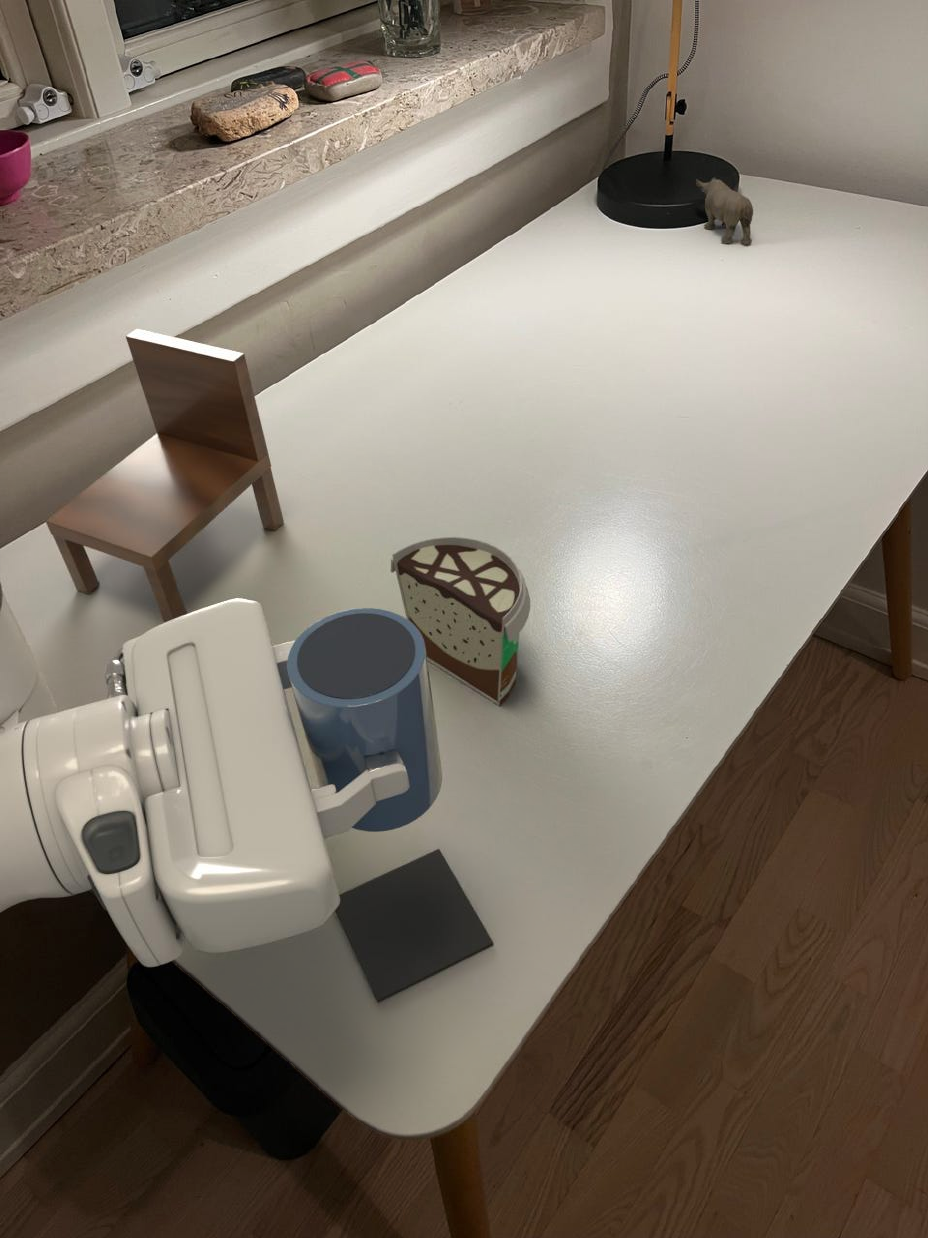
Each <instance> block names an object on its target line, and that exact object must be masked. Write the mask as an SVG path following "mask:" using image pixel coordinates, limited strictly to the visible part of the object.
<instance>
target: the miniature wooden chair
mask: <svg viewBox="0 0 928 1238" xmlns="http://www.w3.org/2000/svg"><path fill="white" fill-rule="evenodd" d="M125 340H126V342H127V346H128V348H129V352H130V355H131V358H132V361H133V364H134V367H135V370H136V373H137V376H138V379H139V382H140V385H141V388H142V391H143V394H144V398H145V400H146V401H145V402H146V404H147V408H148V410H149V414H150V416H151V419H152V422H153V426H154V429H155V431H156V433H155V434H154V435H153V436H151V437H150V438H149V439H148V440H146V441H145V442H144V443H143V444H141V445H140V446H139V447H137V448H136V449H135V450H133V451H132V452H131V453H129V454H128V455H127V456H126V457H124V458H123V459H121V461H119V463H117V464H116V465H115V466H113V467H112V468H111V469H110V470H108V471H107V472H105V473H104V474H103V475H102V476H100V477H99V478H98V479H97V480H95V481H94V482H93V483H92V484H90V485H89V486H88V487H87V488H85V489H84V490H83V491H81V492H80V493H79V494H78V495H76V496H75V497H74V498H73V499H71V500H70V501H69V502H67V503H66V504H65V505H64V506H63V507H62V508H60V509H59V510H57V511H56V512H55V513H53V514H52V515H51V516H50V517H49V518H47V519H46V520H45V524H46V526H47V528H48V530H49V533H50V535H52V537H53V539H54V541H55V544H56V546H57V548H58V551H59V553H60V556H61V558H62V560H63V562H64V564H65V566H66V569H67V571H68V573H69V575H70V578H71V580H72V582H73V585H74V586H75V589H76V590H77V591H78V592H81V593H83V594H86V595H90V594H91V593H92V592H93V591H94V590H95V589H97V588H98V587H99V586H100V582H99V579H98V577H97V575H96V572H95V570H94V567H93V565H92V563H91V560H90V558H89V555H88V553H87V551H86V548H89V549H92V550H95V551H98V552H100V553H103V554H105V555H106V554H107V555H109V556H112V557H115V558H118V559H120V560H123V561H127V562H130V563H132V564H135V565H138V566H141V567H143V571H144V573H145V575H146V578H147V580H148V583H149V585H150V589H151V591H152V594H153V596H154V599H155V602H156V604H157V608H158V610H159V612H160V615H161V618H162V621H163V623H165V622H167V621H170V620H173V619H175V618H178V617H180V616H183V615H186V614H188V612H187V610H186V606H185V603H184V601H183V598H182V595H181V593H180V590H179V587H178V584H177V581H176V578H175V576H174V573H173V570H172V568H171V564H170V562H169V561H170V560H171V559H172V558H173V557H174V556H175V555H176V554H177V553H178V552H179V551H180V550H181V549H182V548H184V547H185V546H186V545H187V544H188V543H189V542H190V541H192V539H194V538H195V537H196V536H197V535H198V534H199V533H201V532H202V530H203V529H205V528H206V527H207V526H208V525H209V524H210V523H211V522H213V520H214V519H216V518H217V517H218V516H219V515H220V514H221V513H223V511H224V510H225V509H226V508H227V507H228V506H229V505H231V504H232V503H233V502H234V501H235V500H236V499H237V498H238V497H239V496H241V495H242V494H243V493H244V492H245V491H246V490H247V489H248V488H249V487H252V491H253V494H254V495H253V496H254V499H255V502H256V506H257V510H258V515H259V517H260V522H261V525H262V527H263V528H264V529H268V530H271V531H274V532H277V530H278V529H279V528H281V526H282V525H283V524H284V523H285V521H284V517H283V513H282V507H281V504H280V500H279V495H278V491H277V486H276V482H275V479H274V475H273V471H272V463H271V458H270V455H269V454H270V453H269V451H268V446H267V442H266V438H265V433H264V429H263V425H262V421H261V417H260V412H259V409H258V404H257V401H256V400H257V399H256V397H255V393H254V388H253V384H252V379H251V375H250V372H249V368H248V363H247V360H246V355H245V353H244V352H240V351H236V350H231V349H227V348H222V347H218V346H213V345H209V344H205V343H200V342H197V341H191V340H187V339H183V338H178V337H175V336H170V335H166V334H162V333H158V332H153V331H150V330H149V331H148V330H144V329H140V328H135V329H134V330H133V331H131V332H129V333H128V334H127V335H125ZM85 547H86V548H85Z"/></svg>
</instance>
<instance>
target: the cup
mask: <svg viewBox="0 0 928 1238" xmlns="http://www.w3.org/2000/svg"><path fill="white" fill-rule="evenodd" d="M294 641H295V642H294V644H293V646H292V648H291V650H290V653H289V656H288V661H287V670H288V674H289V678H290V682H291V686H292V687H291V689H292V693H293V697H294V700H295V704H296V709H297V711H298V715H299V720H300V724H301V726H302V729H303V734H304V738H305V742H306V746H307V749H308V753H309V756H310V760H311V764H312V767H313V771H314V775H315V780H316V782H317V786H318V788H320V787H324V786H327V785H331V784H333V785H335V788H336V791H337V793H338V792H339V791H341V790H342V789H343V788H344V787H346V786H347V785H348V784H349V783H351V782H352V781H353V780H354V779H356V778H357V777H358V776H359V775H361V774H362V773H363V772H365V771H366V770H367V768H366V763H365V759H364V757H367V756H371V755H375V754H383V753H384V752H386V751H389V750H392V749H393V750H398V751H399V752H400V755H401V758H402V760H403V763H404V765H405V768H406V771H407V774H408V780H409V786H410V787H409V789H408V790H407V791H406V792H404V793H402V794H399V795H396V796H392V797H389V798H386V799H383V800H379V801H376V804H375V805H374V806H373V807H372V808H371V809H370V810H369V811H368V812H367V813H366V814H365V815H364V816H363V817H362V818H361V819H360V820H359V821H358V822H357V823H356V824H355V825H354V826H353V827H352V828H351V829H354V830H357V831H362V832H368V833H369V832H371V833H372V832H373V833H378V832H379V833H381V832H387V831H388V832H389V831H393V830H396V829H400V828H402V827H405V826H407V825H409V824H411V823H414V821H415V822H416V820H417V819H419V818H421V817H422V816H423V815H424V814H425V813H426V812H427V811H429V809H430V808H431V807H432V806H433V805H434V803H435V801H436V800H437V799H438V796H439V794H440V791H441V788H442V784H443V770H442V762H441V761H442V760H441V755H440V747H439V739H438V738H439V737H438V732H437V724H436V716H435V708H434V701H433V694H432V686H431V679H430V678H431V677H430V670H429V664H428V663H429V662H428V661H427V655H426V648H425V642H424V639H423V637H422V635H421V633H420V632H419V630H418V629H417V628H416V627H415V625H414V624H413V623H411V622H410V621H409V620H407V617H404V616H403V615H400V614H398V613H396V612H393V611H390V610H387V609H382V608H373V607H358V608H357V607H356V608H351V609H345V610H341V611H337V612H334V613H331V614H329V615H327V616H324V617H322V618H320V619H318V620H317V621H315V622H313V623H312V624H311V625H309V626H307V628H306V629H305V630H304V631H302V632H301V633H300V634H299V636H297V638H296V639H295V640H294Z"/></svg>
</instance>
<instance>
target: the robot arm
mask: <svg viewBox="0 0 928 1238" xmlns="http://www.w3.org/2000/svg"><path fill="white" fill-rule="evenodd" d="M270 634H271V633H270V631H269V628H268V624H267V620H266V617H265V614H264V610H263V606H262V604H261V603H260V602H258V601H257V600H252V599H247V598H242V597H236V598H231V599H228V600H224V601H221V602H218V603H215V604H214V603H213V604H212V605H209V606H205V607H203V608H200V609H196V610H193V611H192V612H189V613H188V612H187V614H186V615H183V616H180V617H178V618H175V619H173V620H170V621H167V622H165V623H164V622H163V623H160V624H159V625H156V626H155V627H152V628H151V629H148V630H147V631H146V632H143V634H141V635H140V636H137V637H134V638H132V639H129V640H127V641H126V642H124V643H123V644H122V647H121V648H120V649H119V650H118V651H117V652H116V653H115V654H114V656H113V659H112V660H109V661H108V662H107V664H106V665H105V669H104V679H105V684H106V685H107V698H106V699H102V700H98V701H95V702H91V703H86V704H83V705H80V706H77V707H73V708H69V709H65V710H61V711H59V710H58V707H57V704H56V702H55V699H54V697H53V695H52V693H51V690H50V688H49V687H48V684H47V682H46V680H45V678H44V676H43V674H42V672H41V670H40V667H39V666H38V662H37V659H36V657H35V656H34V653H33V651H32V648H31V647H30V645H29V643H28V641H27V638H26V636H25V634H24V633H23V631H22V629H21V626H20V624H19V622H18V620H17V618H16V615H15V614H14V612H13V610H12V607H11V605H10V603H9V602H8V599H7V597H6V594H5V593H4V591H3V586H2V583H1V582H0V913H2V912H4V911H5V910H8V909H9V908H11V907H14V906H15V905H18V904H20V903H24V902H27V901H30V900H31V901H32V900H37V899H50V898H51V899H53V898H55V899H56V898H67V897H72V896H75V895H78V894H79V895H80V894H83V893H85V892H88V891H91V890H92V892H93V894H94V895H95V897H96V899H97V900H98V902H99V904H100V905H101V906H102V908H103V909H104V911H107V913H108V915H109V917H110V918H111V920H112V922H113V924H114V926H115V928H116V929H117V931H118V932H119V934H120V936H121V938H122V939H123V941H124V942H125V943H126V945H127V946H128V948H129V949H130V951H131V952H132V954H133V955H134V956H135V958H136V959H137V960H138V962H139V963H140V964H141V965H142V966H144V967H146V968H155V967H159V966H162V965H165V964H168V963H170V962H172V961H174V960H177V959H178V958H179V957H180V956H181V955H182V953H183V952H184V949H185V943H187V944H188V945H189V946H190V947H192V948H193V949H195V950H198V951H199V952H204V953H208V954H209V953H210V954H223V953H229V952H235V951H240V950H245V949H250V948H254V947H258V946H263V945H266V944H269V943H273V942H274V943H275V942H277V941H281V940H285V939H288V938H291V937H293V936H298V935H301V934H304V933H307V932H310V931H312V930H315V929H316V928H317V929H318V928H319V927H321V926H322V925H324V924H325V923H326V922H327V921H328V919H329V918H331V916H332V915H333V914H334V912H336V911H335V910H336V908H337V907H338V906H339V904H340V896H339V895H340V893H339V888H338V885H337V881H336V877H335V873H334V870H333V866H332V863H331V858H330V855H329V850H328V846H327V843H326V839H327V838H331V837H333V836H336V835H340V834H343V833H347V832H349V831H350V830H351V829H353V828H352V827H353V826H354V825H355V824H356V823H357V822H358V821H359V820H360V819H361V818H362V817H363V816H364V815H365V814H366V813H367V812H368V811H369V810H370V809H371V808H372V807H373V806H374V805H375V804H376V801H379V800H383V799H386V798H389V797H392V796H396V795H399V794H402V793H404V792H406V791H407V790H408V789H409V787H410V786H409V780H408V774H407V771H406V768H405V765H404V763H403V760H402V758H401V755H400V752H399V751H398V750H393V749H392V750H389V751H386V752H384V753H383V754H375V755H371V756H367V757H364V759H365V763H366V768H367V770H366V771H365V772H363V773H362V774H361V775H359V776H358V777H357V778H356V779H354V780H353V781H352V782H351V783H349V784H348V785H347V786H346V787H344V788H343V789H342V790H341V791H339V792H338V793H337V791H336V788H335V785H333V784H331V785H327V786H324V787H320V788H319V787H317V788H314V789H311V788H312V787H311V786H310V785H311V783H310V781H309V778H308V773H307V770H306V766H305V762H304V758H303V755H302V751H301V747H300V744H299V741H298V740H299V739H298V736H297V732H296V728H295V725H294V721H293V718H292V714H291V710H290V706H289V703H288V699H287V695H286V691H285V690H287V689H290V688H291V689H292V686H291V682H290V678H289V674H288V670H287V661H288V656H289V653H290V650H291V648H292V646H293V644H294V642H295V641H296V640H290V641H287V642H283V643H279V644H275V645H273V642H272V639H271V635H270ZM122 659H123V660H122ZM185 941H186V942H185Z"/></svg>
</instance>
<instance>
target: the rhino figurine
mask: <svg viewBox="0 0 928 1238" xmlns="http://www.w3.org/2000/svg"><path fill="white" fill-rule="evenodd" d="M695 184H696V186H697V187H699V188H700V189H701V190H702V192H704V193H705V194H706V198H705V206H704V207H705V209H704V210H705V214H706V216H707V219H708V220H707V221H708V222H706V223H705V224H704V226H703V228H704V229H706V230H714V229H715V227H716V223H715V222H716V221H715V220H718V221H719V222H722V223H721V225H720V226H721V227H722V228H726V230H725V234H724V235H723V236H722V237H721V238H720V243H722V244H727V245H728V244H732V242H733V236H734V235H735V232H736V229H737V228H736V227H737V225H738V224H739V222H740V226H741V229H742V234H743V235H742V238H741V239H740V241H739V242H740V244H741V245H744V246H749V245H751V244H752V239H751V224H752V221H753V216H754V207H753V205H752V202H751V200H750V198H748V197H747V196H745V195H743V194H741V193H739V192H737V191H736V190H733V189H731V187H729V186H728V184H726V183H725V182H724V181H722V180H721V179H717V178H716V177H712V178H711V179H710V181H708V182H702V181H700V180H699V179H698V178H696V179H695Z"/></svg>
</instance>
